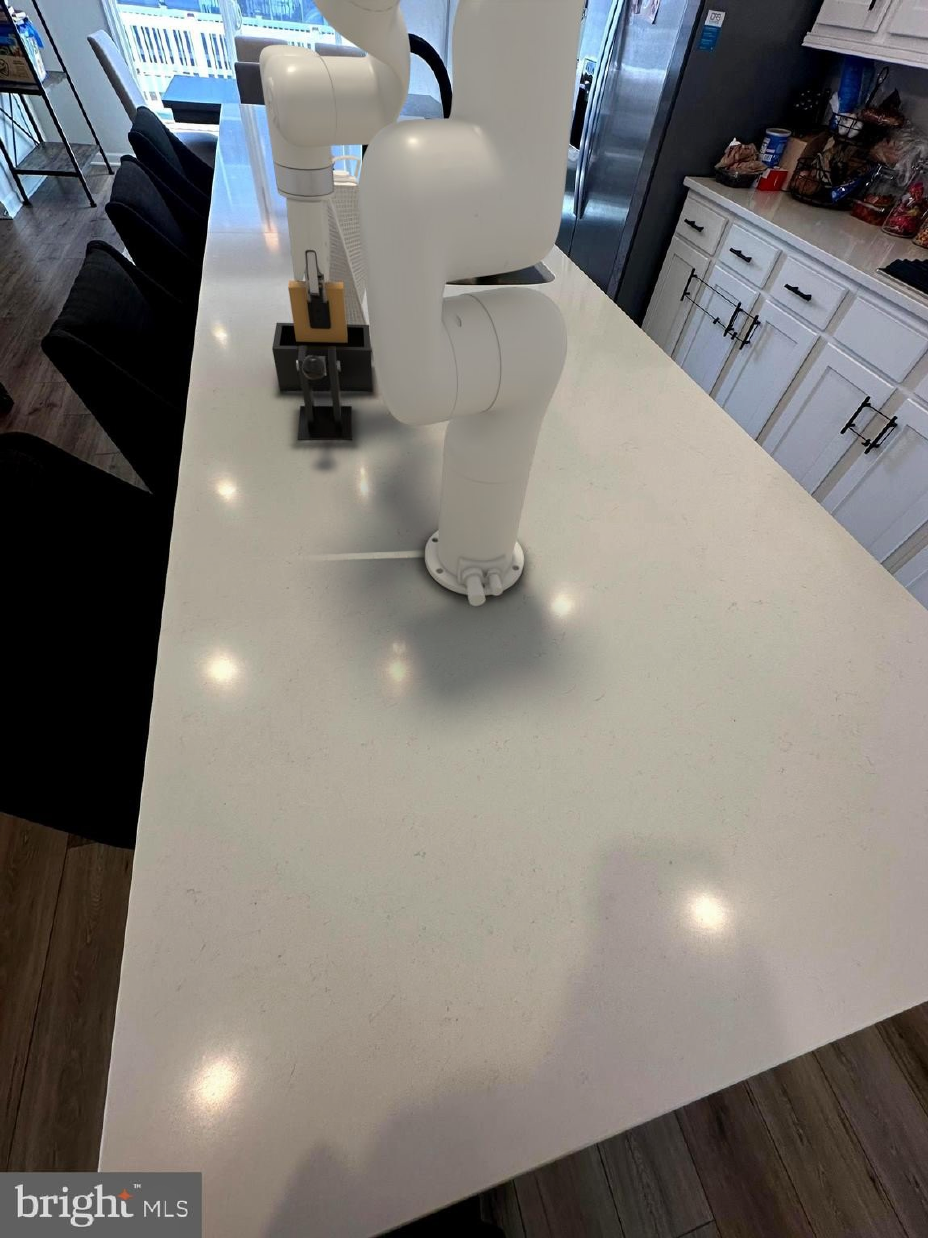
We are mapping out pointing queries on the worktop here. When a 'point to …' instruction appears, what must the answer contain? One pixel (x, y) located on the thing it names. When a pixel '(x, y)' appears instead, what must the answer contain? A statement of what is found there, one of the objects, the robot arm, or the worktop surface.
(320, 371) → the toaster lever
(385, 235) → the robot arm
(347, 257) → the skyscraper
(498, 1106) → the worktop surface
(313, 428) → the lever bracket
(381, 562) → the worktop surface
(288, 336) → the black open box
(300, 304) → the orange square tile
